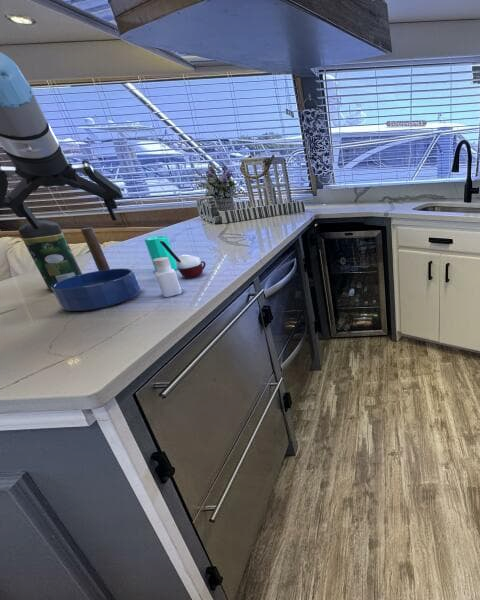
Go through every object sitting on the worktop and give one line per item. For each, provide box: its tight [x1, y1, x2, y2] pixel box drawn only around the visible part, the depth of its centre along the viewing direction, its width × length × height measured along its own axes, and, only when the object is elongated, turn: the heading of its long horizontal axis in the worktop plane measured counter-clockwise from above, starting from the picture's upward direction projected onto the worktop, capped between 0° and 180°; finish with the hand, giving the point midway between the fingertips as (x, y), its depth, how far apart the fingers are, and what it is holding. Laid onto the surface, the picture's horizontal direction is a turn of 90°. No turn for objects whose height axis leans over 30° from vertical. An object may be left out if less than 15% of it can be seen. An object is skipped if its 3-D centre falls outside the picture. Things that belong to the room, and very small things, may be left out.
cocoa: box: [160, 241, 206, 279], centre depth 94 cm, size 10×6×12 cm, turn 130°
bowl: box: [51, 267, 141, 312], centre depth 80 cm, size 15×15×6 cm
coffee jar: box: [17, 219, 83, 292], centre depth 89 cm, size 10×8×19 cm
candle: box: [144, 232, 178, 272], centre depth 102 cm, size 6×6×12 cm
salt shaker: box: [152, 257, 183, 298], centre depth 81 cm, size 4×4×10 cm
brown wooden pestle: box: [80, 227, 111, 271], centre depth 88 cm, size 5×5×16 cm
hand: (76, 220), depth 76 cm, fingers open, 13 cm apart
